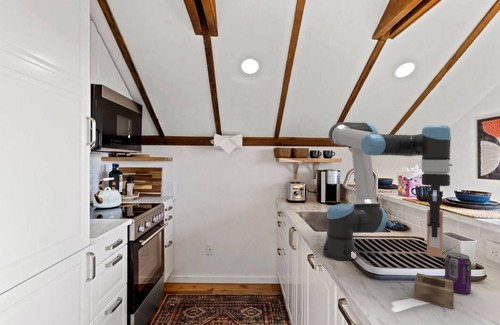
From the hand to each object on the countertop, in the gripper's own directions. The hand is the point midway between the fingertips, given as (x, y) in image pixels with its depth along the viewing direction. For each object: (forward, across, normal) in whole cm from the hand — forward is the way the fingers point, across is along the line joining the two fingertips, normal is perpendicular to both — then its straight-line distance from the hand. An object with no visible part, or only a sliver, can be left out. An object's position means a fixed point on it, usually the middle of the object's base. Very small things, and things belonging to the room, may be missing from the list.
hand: (434, 245), depth 86 cm
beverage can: (+17, +12, -6) cm, 22 cm away
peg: (+3, 0, 0) cm, 3 cm away
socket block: (+17, 0, 0) cm, 17 cm away
